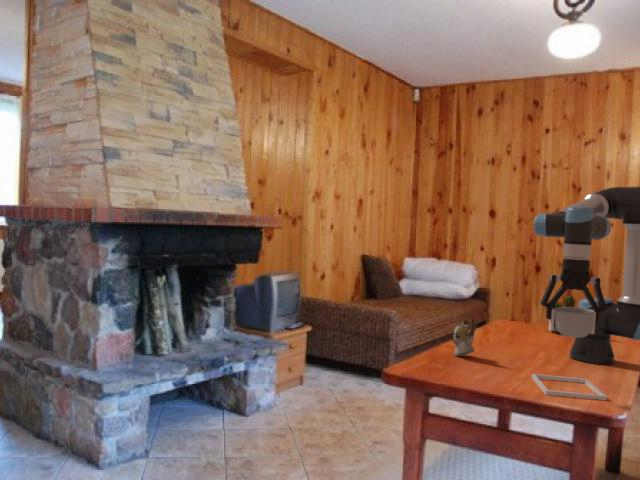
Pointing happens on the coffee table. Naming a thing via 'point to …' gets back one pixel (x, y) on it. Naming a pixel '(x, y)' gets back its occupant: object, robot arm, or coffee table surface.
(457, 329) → the ceramic sculpture
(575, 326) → the teacup
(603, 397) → the grey square frame
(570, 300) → the flowerpot
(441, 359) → the coffee table surface
